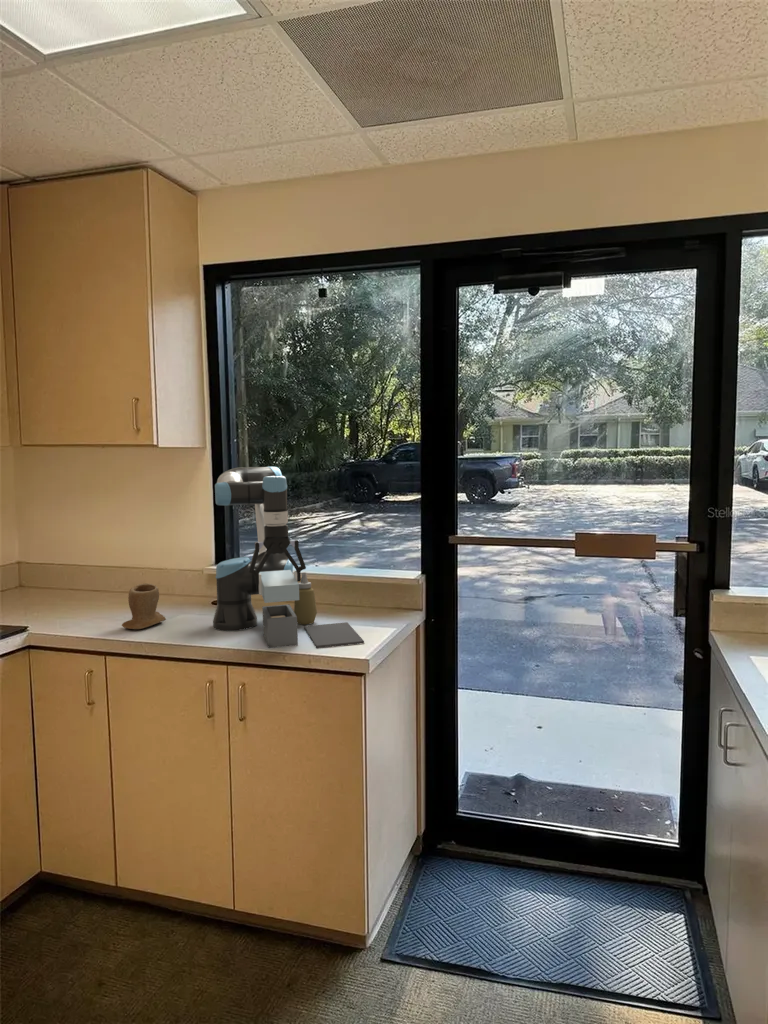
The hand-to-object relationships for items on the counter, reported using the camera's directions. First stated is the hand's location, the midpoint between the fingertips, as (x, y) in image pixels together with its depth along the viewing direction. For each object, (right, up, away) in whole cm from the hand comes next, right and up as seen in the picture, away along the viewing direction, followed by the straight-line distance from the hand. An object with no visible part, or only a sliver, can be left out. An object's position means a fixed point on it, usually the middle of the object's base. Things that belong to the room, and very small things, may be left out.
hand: (278, 592), depth 208 cm
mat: (+17, -14, +4) cm, 23 cm away
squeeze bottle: (+6, -13, +20) cm, 25 cm away
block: (0, 0, 0) cm, 0 cm away
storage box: (0, -15, +1) cm, 15 cm away
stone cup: (-50, -15, +20) cm, 56 cm away
